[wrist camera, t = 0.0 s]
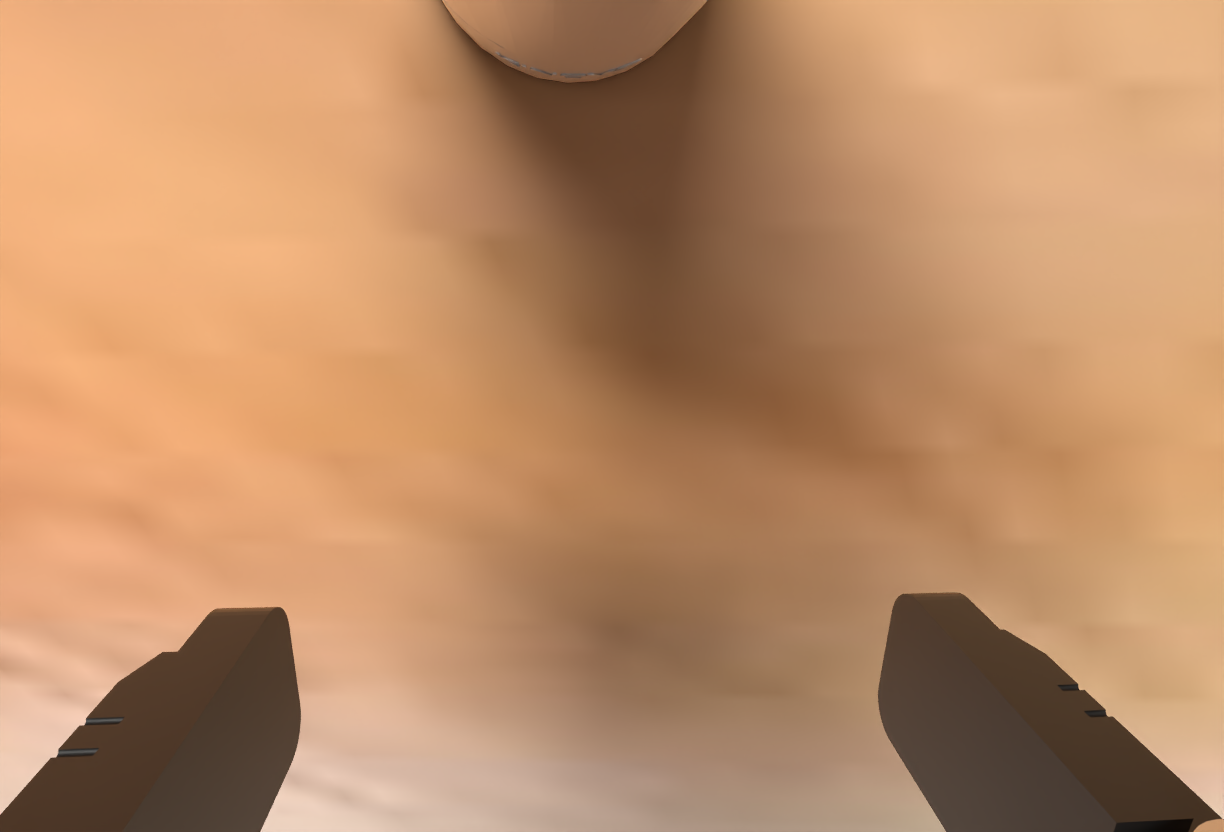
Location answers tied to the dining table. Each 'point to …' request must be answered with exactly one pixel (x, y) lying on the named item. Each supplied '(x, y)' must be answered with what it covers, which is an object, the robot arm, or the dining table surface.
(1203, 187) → the dining table surface
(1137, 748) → the robot arm
